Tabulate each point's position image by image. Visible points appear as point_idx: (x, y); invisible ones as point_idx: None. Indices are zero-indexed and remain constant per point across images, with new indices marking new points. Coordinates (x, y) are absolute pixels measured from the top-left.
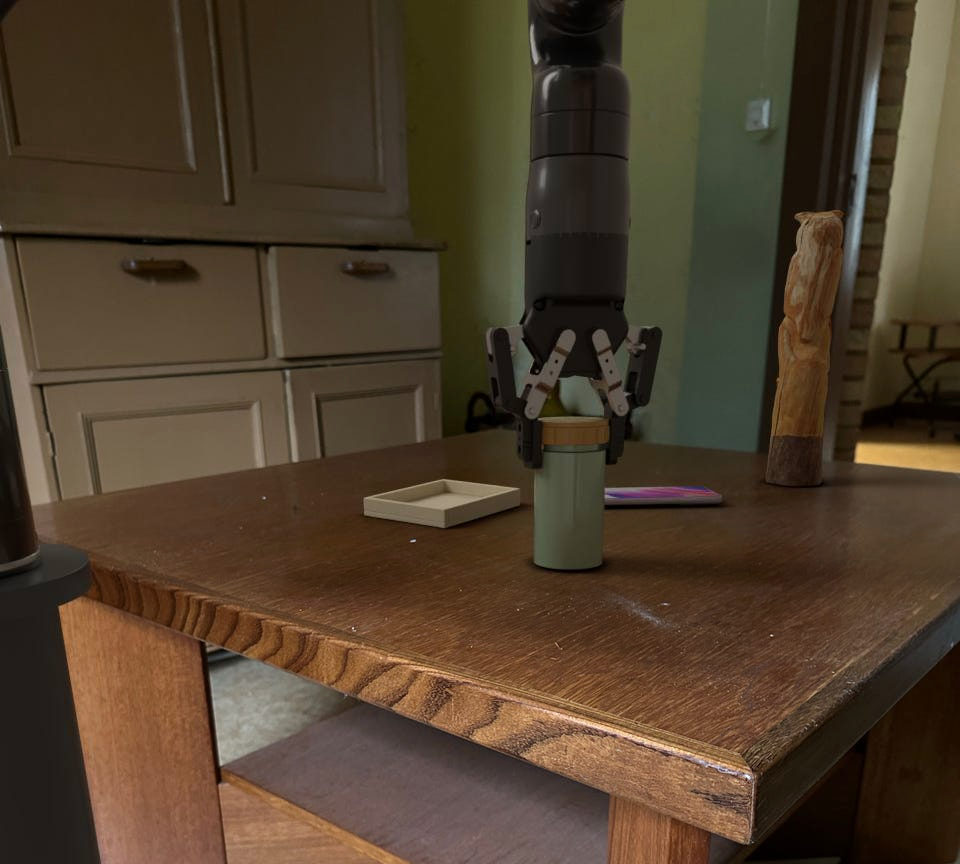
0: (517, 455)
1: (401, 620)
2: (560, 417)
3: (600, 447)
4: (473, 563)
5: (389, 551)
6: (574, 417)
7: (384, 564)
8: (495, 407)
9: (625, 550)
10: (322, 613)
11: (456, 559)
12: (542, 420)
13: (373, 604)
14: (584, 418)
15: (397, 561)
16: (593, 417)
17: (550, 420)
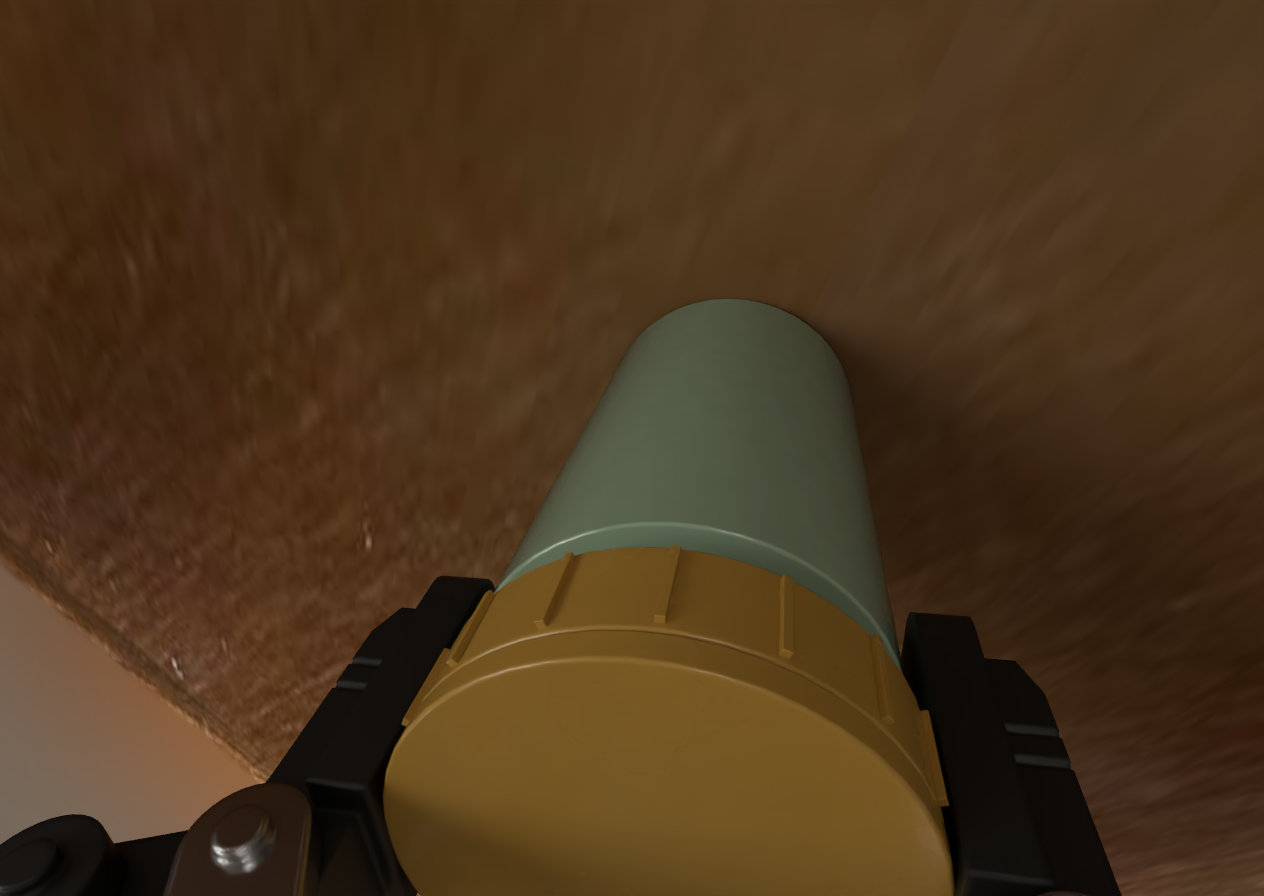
0: (384, 624)
1: (252, 660)
2: (641, 724)
3: (918, 692)
4: (421, 312)
5: (119, 41)
6: (752, 778)
7: (140, 234)
8: (47, 822)
9: (1045, 312)
10: (97, 578)
11: (368, 242)
12: (429, 858)
13: (183, 564)
14: (780, 874)
15: (174, 208)
16: (903, 846)
17: (480, 882)
